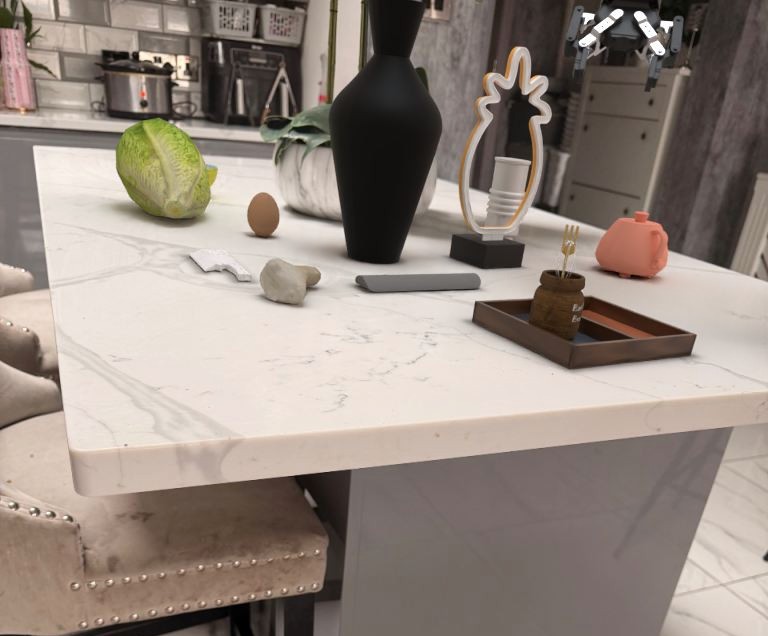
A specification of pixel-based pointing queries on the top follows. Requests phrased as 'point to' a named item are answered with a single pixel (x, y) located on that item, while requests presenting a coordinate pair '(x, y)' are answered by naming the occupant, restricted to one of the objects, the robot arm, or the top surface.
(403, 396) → the top surface
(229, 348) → the top surface
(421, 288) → the half round rod
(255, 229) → the egg
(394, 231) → the vase
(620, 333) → the sorting tray
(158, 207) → the lettuce
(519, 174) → the white ribbed cup
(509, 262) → the lamp
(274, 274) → the stone
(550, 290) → the utensil holder
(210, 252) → the white flat piece
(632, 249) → the pink rounded pot
